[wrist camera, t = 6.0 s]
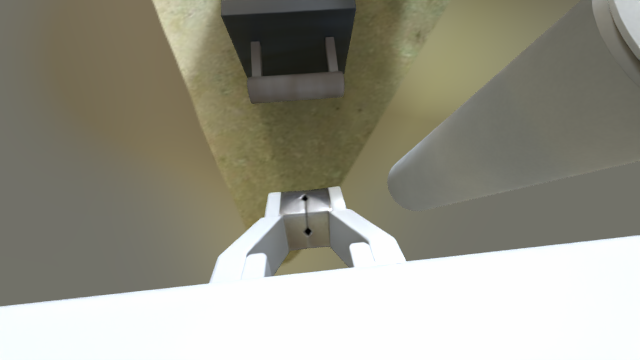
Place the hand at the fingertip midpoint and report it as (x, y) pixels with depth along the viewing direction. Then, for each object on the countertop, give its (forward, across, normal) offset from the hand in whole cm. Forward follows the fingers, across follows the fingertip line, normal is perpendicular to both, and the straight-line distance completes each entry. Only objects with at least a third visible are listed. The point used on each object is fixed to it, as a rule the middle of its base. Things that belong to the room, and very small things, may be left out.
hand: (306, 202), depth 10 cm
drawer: (+16, 0, +5) cm, 16 cm away
